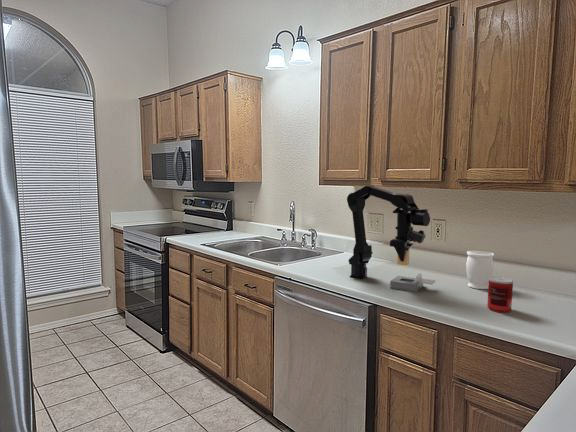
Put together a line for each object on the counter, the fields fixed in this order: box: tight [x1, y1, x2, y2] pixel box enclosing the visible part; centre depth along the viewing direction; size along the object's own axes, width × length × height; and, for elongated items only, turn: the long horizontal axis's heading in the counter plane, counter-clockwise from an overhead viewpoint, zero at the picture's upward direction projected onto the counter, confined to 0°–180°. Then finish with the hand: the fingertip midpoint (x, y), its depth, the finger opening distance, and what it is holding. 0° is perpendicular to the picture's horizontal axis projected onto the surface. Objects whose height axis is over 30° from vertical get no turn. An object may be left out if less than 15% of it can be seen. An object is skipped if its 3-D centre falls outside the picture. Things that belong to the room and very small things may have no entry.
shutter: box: [415, 273, 436, 286], centre depth 168 cm, size 6×6×3 cm
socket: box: [389, 275, 424, 293], centre depth 172 cm, size 11×11×3 cm
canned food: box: [486, 276, 514, 314], centre depth 144 cm, size 8×8×11 cm
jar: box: [465, 250, 495, 290], centre depth 173 cm, size 11×10×15 cm
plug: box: [397, 249, 410, 266], centre depth 171 cm, size 4×3×8 cm
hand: (403, 260), depth 171 cm, fingers closed on plug, 3 cm apart
